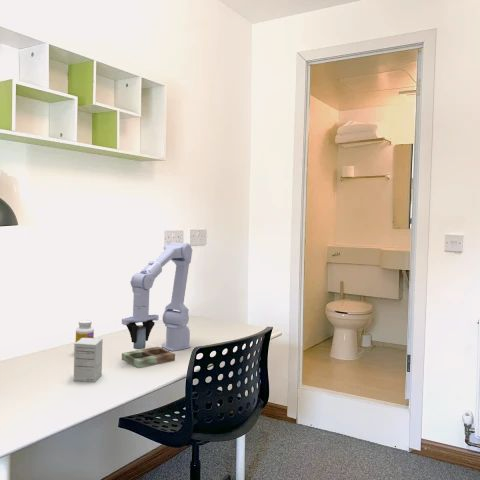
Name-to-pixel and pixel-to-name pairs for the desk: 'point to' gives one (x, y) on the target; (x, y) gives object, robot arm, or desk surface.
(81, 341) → the supplement box
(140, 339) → the tube
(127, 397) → the desk surface
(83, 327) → the supplement bottle
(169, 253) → the robot arm
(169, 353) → the rack
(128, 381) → the desk surface
